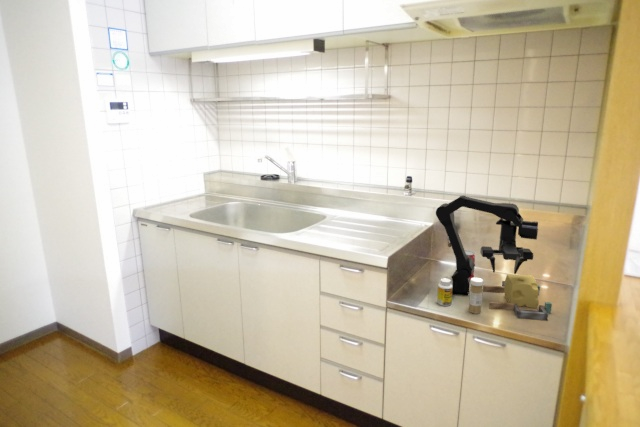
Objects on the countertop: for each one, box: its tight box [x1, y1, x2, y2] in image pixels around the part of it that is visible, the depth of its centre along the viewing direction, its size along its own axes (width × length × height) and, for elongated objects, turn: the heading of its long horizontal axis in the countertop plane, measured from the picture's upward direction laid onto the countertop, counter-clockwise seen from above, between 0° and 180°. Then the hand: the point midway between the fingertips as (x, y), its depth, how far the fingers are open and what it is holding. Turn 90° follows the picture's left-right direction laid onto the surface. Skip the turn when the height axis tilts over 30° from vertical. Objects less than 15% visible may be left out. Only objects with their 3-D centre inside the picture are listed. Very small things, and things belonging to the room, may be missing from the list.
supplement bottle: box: [436, 277, 453, 307], centre depth 170 cm, size 6×6×10 cm
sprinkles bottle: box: [468, 276, 484, 315], centre depth 162 cm, size 5×5×13 cm
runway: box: [482, 280, 553, 321], centre depth 171 cm, size 22×29×4 cm
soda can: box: [464, 249, 476, 283], centre depth 193 cm, size 7×7×13 cm
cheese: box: [504, 274, 540, 309], centre depth 170 cm, size 10×11×10 cm
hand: (504, 272), depth 170 cm, fingers open, 8 cm apart
